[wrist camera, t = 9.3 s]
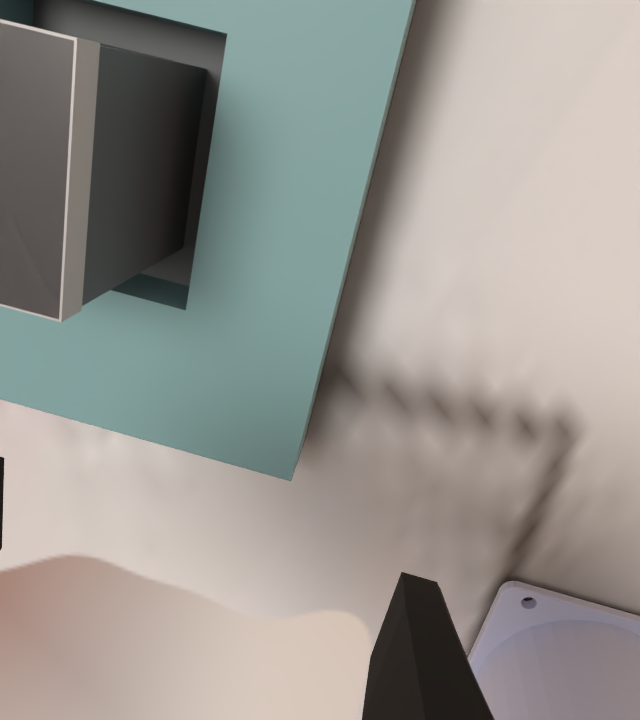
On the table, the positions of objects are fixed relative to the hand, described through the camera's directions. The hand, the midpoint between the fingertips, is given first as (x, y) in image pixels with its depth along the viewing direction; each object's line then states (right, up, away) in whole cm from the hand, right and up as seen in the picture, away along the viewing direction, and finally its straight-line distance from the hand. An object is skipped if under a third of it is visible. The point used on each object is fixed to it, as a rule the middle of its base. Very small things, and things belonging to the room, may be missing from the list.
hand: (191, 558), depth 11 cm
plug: (-3, +10, +7) cm, 12 cm away
